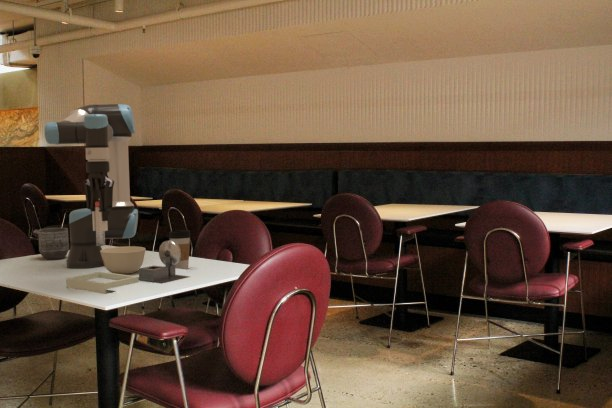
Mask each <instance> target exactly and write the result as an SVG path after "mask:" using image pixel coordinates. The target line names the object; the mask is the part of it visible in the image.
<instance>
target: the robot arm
mask: <svg viewBox="0 0 612 408" xmlns="http://www.w3.org/2000/svg"><path fill="white" fill-rule="evenodd" d="M135 133H136V123H135V117H134V113H133V109H132V107H131V106H130V105H129V104H124V103H123V104H121V103H120V104H119V103H118V104H117V103H116V104H114V103H113V104H108V103H107V104H89V105H88V104H87V105H84V106H83V105H82V106H80V107H77V108H75V109H73V110H71V111H70V112H69V113H68V114H67V116H66V117H65V118H64V119H62V120H60V121H52V122H51V121H50V122H46V124H45V126H44V138H45V141H46V143H47V144H49V145H71V144H75V145H76V144H78V145H79V144H85V147H84V148H85V160H87V161H86V162H85V170H86V173H87V174H88V176H87V177H88V178H87V179H84V180H83V181H82V184H83V186H84V193H85V202H86V208H79V209H75V210H72V211H71V212H70V213H69V217H68V218H69V220H68V221H69V222H68V224H69V241H70V242H69V251H68V254H67V255H68V256H67V259H66V267H67V268H70V269H89V268H97V267H102V266H105V265H104V263H103V260H102V256H101V252H100V251H101V250H102V246H97V245H96V220H95V202H96V201H100V209H101V210H99V225H100V231H105V240H108V239H109V240H111V239H114V240H115V239H130V238H134V237H135V235H136V234H137V228H138V223H139V222H138V220H139V210H138V209H137V208H135V205H134V203H133V202H132V201H131V195H130V194H131V190H130V166H129V165H130V164H129V159H130V158H129V141H130V140H131V139H132V137H133V136H132V135H133V134H135Z"/></svg>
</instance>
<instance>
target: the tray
mask: <svg viewBox="0 0 612 408" xmlns="http://www.w3.org/2000/svg"><path fill="white" fill-rule="evenodd" d="M138 277H139V276H137V275H129V274H115V273H111V272H105V271H96V272H90V273H85V274H80V275H79V274H78V275H75V276H70V277H66V279H65V283H66V285H65V286H66V288H67V289H73V290H80V291H87V292H93V293H98V294H105V295H107V294H111V293H115V292H117V290H112V289H114V288H118V287H123V286H126V285H127V286H128V285H132V284H136V283H139V280H138ZM97 278H98V279H99V278H101V279H102V278H103V279H108V280H113V281H108V282H101V281H94V280H93V279H97Z"/></svg>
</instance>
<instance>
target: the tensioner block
mask: <svg viewBox="0 0 612 408" xmlns="http://www.w3.org/2000/svg"><path fill="white" fill-rule="evenodd" d="M158 258H159V259H160V261H161V263H162V264H163V266H162V265H161V266H160V265H149V266H144V267H140V268H139V269H138V276H137V277H138V280H139V281H140V282H147V283H152V284H153V283H155V284H161V285H162V284H167V283H171V282H175V281H179V280H184V279H188V278H190V276H187V275H180V274H176V268H175V265H176V264H178V263H179V261H180V259H181V250H180V247H179V245H178V244H177V243H176V242H175V241H173V240H170V239H169V240H165V241H163V242H162V243H161V244H160V245H159V249H158Z"/></svg>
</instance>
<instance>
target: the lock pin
mask: <svg viewBox="0 0 612 408" xmlns="http://www.w3.org/2000/svg"><path fill="white" fill-rule="evenodd" d="M99 210H101V209H100V201H96V202H95V220H96V245H97V246H101V247H102V246H106V239H105V231H100V225H99Z"/></svg>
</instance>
